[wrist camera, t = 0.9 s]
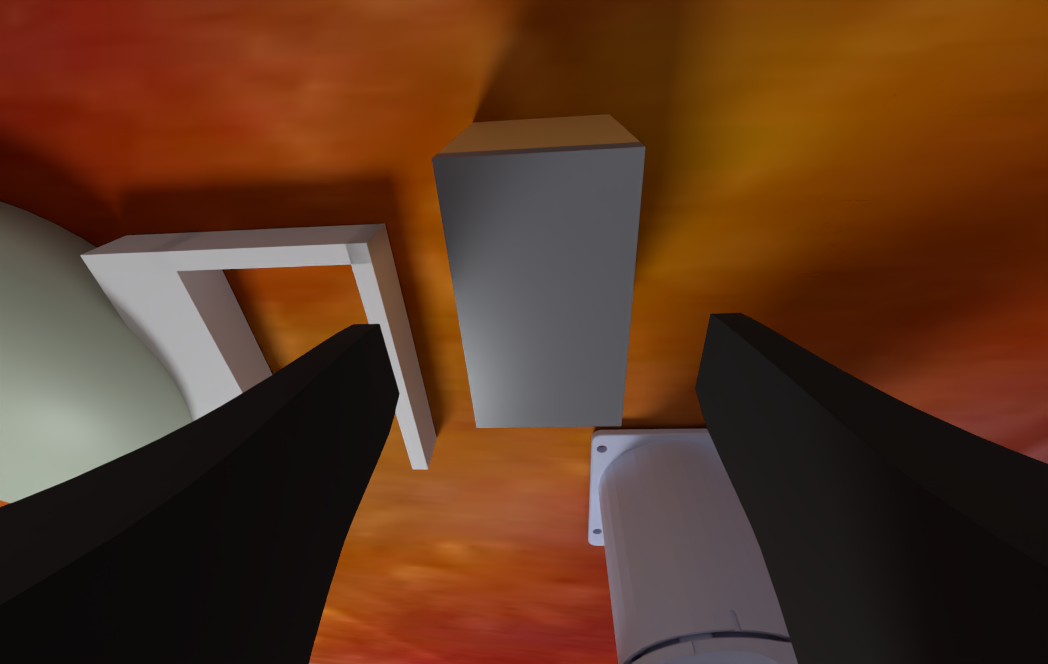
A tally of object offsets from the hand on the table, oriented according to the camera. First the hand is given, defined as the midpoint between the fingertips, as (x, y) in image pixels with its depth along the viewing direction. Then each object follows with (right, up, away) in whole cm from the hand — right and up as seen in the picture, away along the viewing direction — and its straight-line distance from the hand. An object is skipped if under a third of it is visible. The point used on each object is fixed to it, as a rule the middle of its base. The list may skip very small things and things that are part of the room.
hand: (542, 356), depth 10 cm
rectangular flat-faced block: (0, +4, +7) cm, 8 cm away
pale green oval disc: (-18, -1, +11) cm, 21 cm away
